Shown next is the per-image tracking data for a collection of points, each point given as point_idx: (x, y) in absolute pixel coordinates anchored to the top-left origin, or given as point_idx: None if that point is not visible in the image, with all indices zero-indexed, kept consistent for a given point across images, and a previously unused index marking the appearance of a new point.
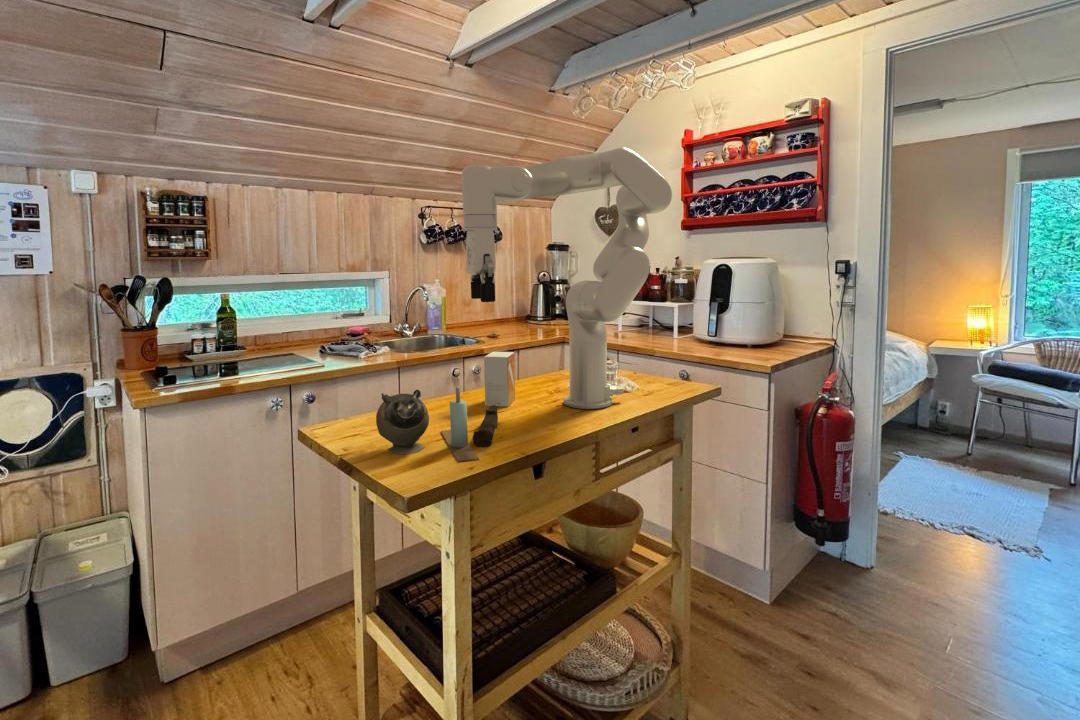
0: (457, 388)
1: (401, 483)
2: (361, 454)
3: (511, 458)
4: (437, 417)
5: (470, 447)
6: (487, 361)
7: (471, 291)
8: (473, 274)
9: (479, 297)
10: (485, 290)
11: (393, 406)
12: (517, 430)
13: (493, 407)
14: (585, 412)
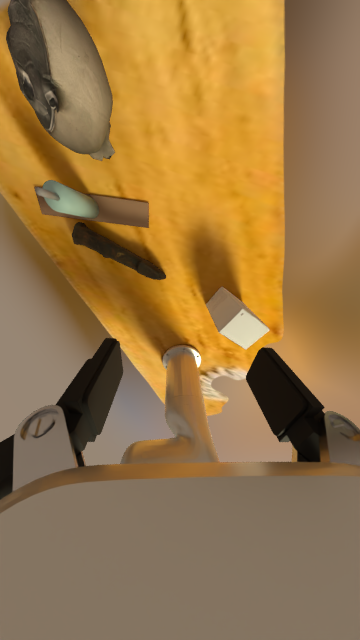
0: (35, 189)
1: None
2: None
3: (46, 248)
4: (209, 219)
5: (79, 217)
6: (236, 309)
7: (280, 365)
8: (121, 468)
9: (251, 367)
10: (71, 382)
11: (9, 15)
12: (129, 284)
13: (150, 274)
14: (159, 348)
